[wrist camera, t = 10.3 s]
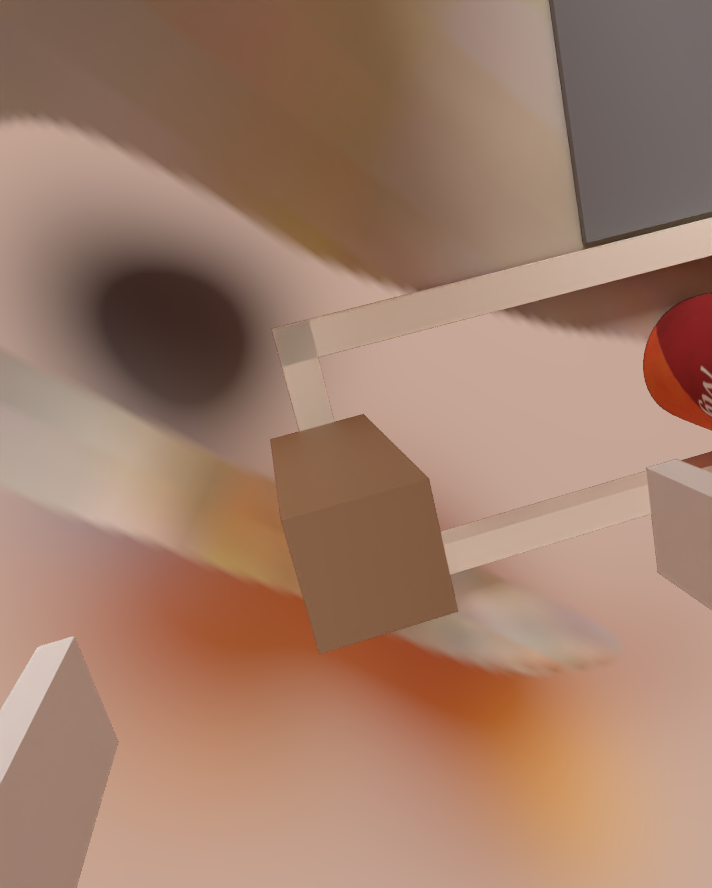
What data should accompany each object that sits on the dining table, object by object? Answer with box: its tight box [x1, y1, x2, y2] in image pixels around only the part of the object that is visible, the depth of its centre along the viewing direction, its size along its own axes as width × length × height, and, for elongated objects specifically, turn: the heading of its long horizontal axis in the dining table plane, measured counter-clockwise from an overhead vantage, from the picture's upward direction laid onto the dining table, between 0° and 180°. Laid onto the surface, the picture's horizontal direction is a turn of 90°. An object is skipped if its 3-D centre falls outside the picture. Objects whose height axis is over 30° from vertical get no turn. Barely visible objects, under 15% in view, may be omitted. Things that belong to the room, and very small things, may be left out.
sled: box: [270, 217, 712, 654], centre depth 23 cm, size 25×12×12 cm, turn 104°
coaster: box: [549, 0, 712, 244], centre depth 27 cm, size 13×13×1 cm
